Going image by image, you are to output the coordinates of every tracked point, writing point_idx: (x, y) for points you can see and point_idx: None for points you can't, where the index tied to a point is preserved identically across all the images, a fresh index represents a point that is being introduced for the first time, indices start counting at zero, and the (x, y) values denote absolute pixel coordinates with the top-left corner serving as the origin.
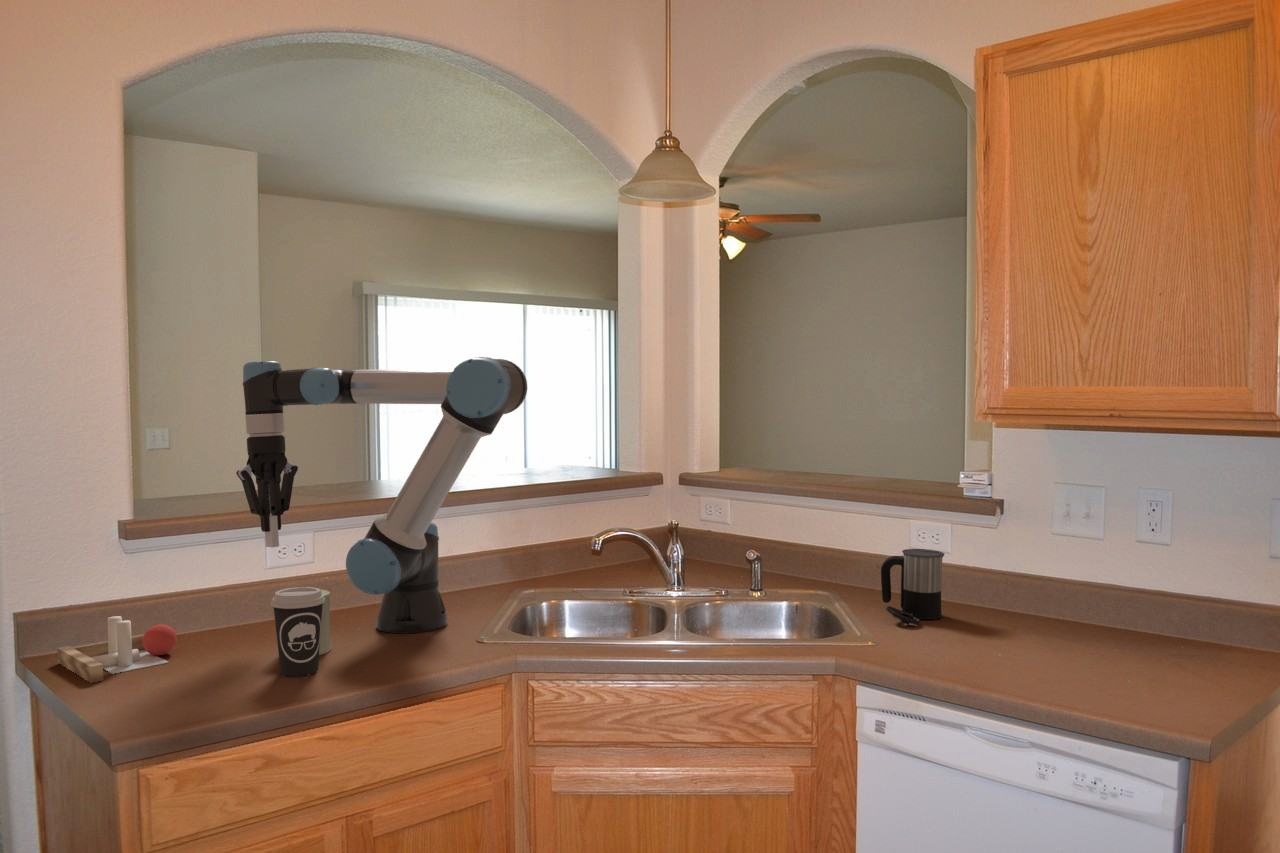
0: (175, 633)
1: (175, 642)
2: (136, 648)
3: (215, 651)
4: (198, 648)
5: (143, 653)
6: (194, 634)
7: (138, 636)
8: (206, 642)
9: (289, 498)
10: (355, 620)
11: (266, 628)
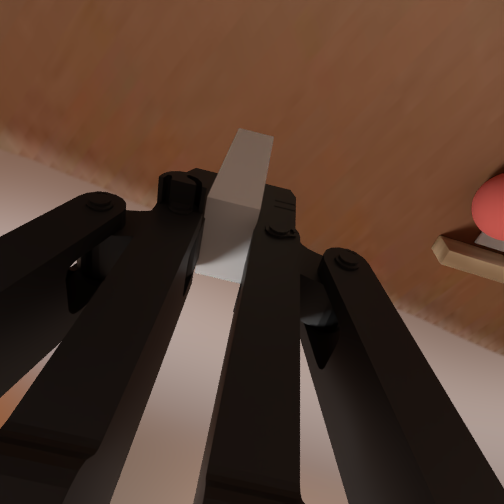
0: (496, 191)
1: (497, 176)
2: (487, 252)
3: (442, 106)
4: (427, 163)
5: None
6: None
7: (489, 266)
8: (379, 187)
9: (16, 240)
10: (64, 12)
11: None
